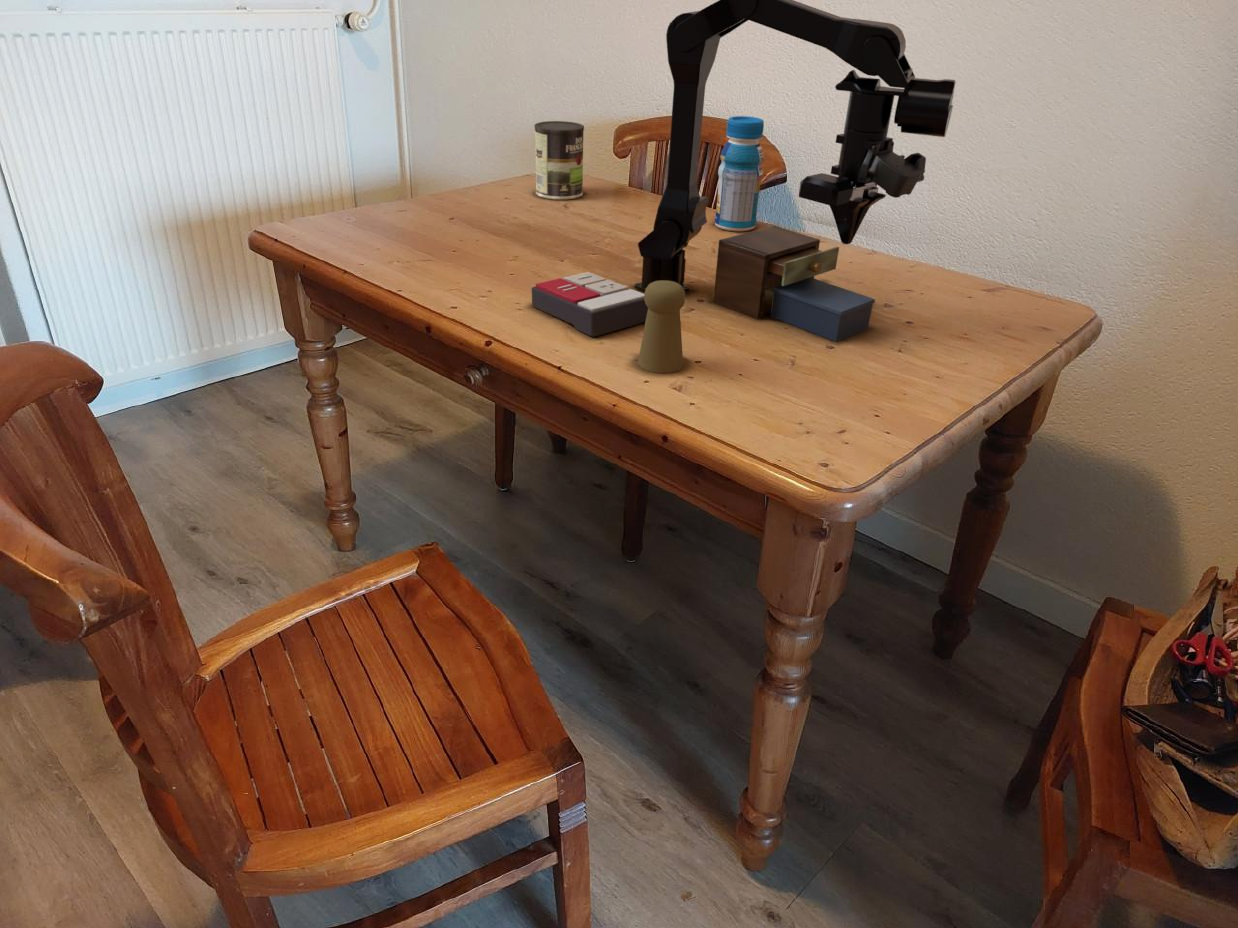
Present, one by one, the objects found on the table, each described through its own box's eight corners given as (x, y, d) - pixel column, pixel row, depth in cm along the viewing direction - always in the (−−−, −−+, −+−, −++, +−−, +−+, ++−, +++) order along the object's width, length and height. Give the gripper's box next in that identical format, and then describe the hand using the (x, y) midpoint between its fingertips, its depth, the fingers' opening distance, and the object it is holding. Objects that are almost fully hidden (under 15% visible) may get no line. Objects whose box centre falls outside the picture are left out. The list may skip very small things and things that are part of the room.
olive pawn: (635, 354, 118) (639, 275, 112) (679, 353, 118) (685, 275, 113) (640, 373, 113) (644, 291, 107) (686, 373, 113) (693, 292, 107)
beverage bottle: (729, 234, 167) (741, 124, 157) (705, 223, 173) (714, 116, 163) (765, 229, 171) (778, 122, 160) (739, 218, 177) (750, 114, 166)
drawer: (790, 288, 124) (793, 265, 122) (737, 270, 130) (739, 247, 128) (842, 271, 131) (846, 249, 130) (790, 254, 137) (793, 233, 136)
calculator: (588, 269, 136) (652, 292, 126) (588, 295, 138) (651, 320, 128) (529, 282, 130) (592, 308, 119) (531, 310, 132) (592, 337, 122)
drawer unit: (757, 319, 130) (765, 255, 125) (712, 302, 136) (718, 240, 131) (810, 300, 138) (820, 239, 133) (766, 285, 143) (774, 225, 138)
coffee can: (592, 193, 190) (593, 125, 183) (565, 202, 183) (566, 132, 175) (553, 185, 194) (552, 118, 187) (525, 194, 187) (524, 125, 179)
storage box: (836, 342, 124) (841, 311, 121) (768, 316, 131) (772, 287, 129) (869, 328, 129) (875, 299, 126) (802, 304, 136) (807, 276, 134)
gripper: (878, 147, 106) (855, 271, 114) (956, 132, 117) (930, 246, 125) (804, 132, 113) (788, 250, 121) (885, 118, 124) (865, 227, 132)
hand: (846, 243), depth 125 cm, fingers closed
